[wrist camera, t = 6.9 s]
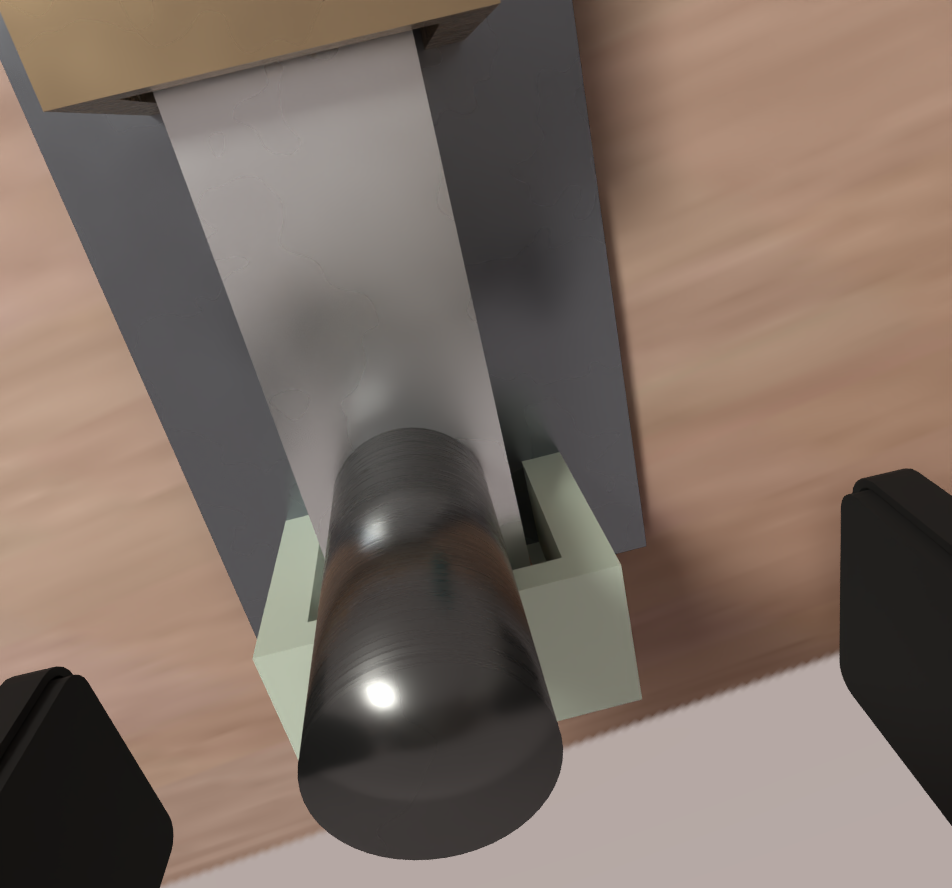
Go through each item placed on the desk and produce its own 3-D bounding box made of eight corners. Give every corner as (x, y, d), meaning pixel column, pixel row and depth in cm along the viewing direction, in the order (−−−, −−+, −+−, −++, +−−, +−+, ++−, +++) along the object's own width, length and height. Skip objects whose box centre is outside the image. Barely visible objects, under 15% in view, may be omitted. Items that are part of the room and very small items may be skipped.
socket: (559, 452, 18) (621, 565, 14) (580, 563, 20) (642, 699, 15) (285, 521, 18) (252, 658, 14) (326, 627, 20) (309, 785, 15)
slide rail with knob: (482, -587, 11) (563, -1156, 6) (639, 534, 20) (724, 670, 15) (-202, -436, 11) (-687, -900, 6) (262, 630, 20) (222, 800, 15)
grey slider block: (378, -88, 13) (372, -576, 4) (520, 543, 19) (650, 932, 10) (154, -35, 13) (-381, -411, 4) (366, 582, 19) (353, 1011, 10)
